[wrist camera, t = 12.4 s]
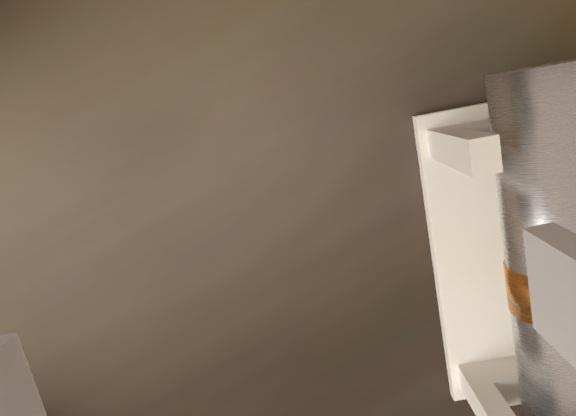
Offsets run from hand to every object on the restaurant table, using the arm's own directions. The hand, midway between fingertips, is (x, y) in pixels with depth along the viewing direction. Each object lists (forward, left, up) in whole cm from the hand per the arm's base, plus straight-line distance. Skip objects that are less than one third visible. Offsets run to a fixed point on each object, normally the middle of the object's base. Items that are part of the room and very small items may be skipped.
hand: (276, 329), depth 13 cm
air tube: (+8, +15, -21) cm, 27 cm away
